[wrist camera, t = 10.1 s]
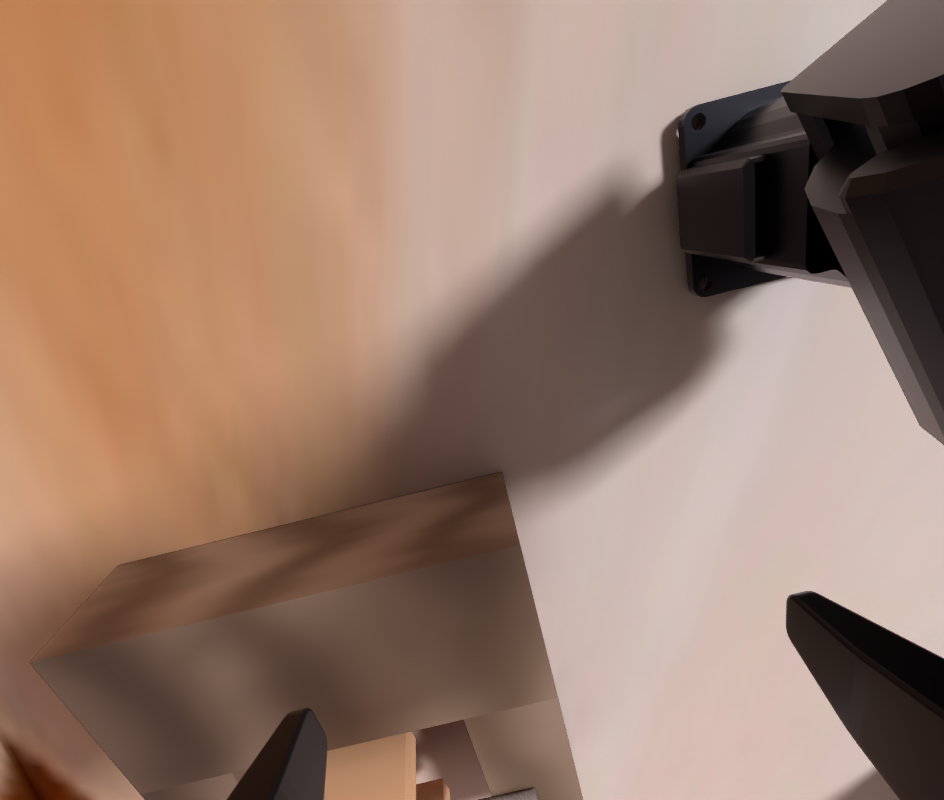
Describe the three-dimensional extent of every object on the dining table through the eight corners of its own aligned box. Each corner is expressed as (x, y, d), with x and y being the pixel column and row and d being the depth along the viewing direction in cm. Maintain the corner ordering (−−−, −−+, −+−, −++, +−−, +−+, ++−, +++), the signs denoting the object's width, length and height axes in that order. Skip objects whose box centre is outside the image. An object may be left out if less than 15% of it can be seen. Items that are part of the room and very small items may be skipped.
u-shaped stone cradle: (501, 471, 21) (520, 545, 16) (570, 750, 28) (596, 855, 24) (118, 565, 21) (29, 662, 17) (285, 815, 29) (255, 930, 24)
